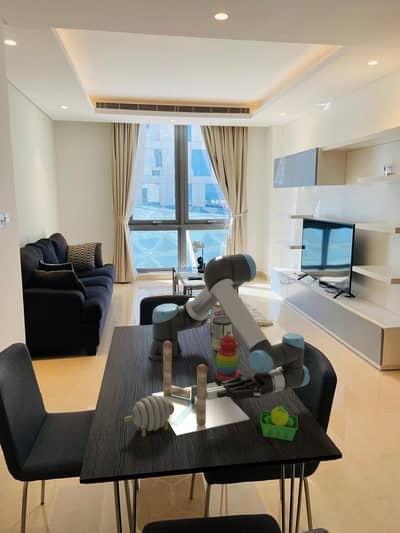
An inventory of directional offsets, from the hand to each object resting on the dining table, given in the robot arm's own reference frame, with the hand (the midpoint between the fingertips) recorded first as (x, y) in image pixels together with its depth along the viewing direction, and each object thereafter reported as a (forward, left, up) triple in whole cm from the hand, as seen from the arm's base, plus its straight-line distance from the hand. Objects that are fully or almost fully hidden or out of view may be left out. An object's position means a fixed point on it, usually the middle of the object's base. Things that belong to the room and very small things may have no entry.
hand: (206, 394), depth 133 cm
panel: (-5, 0, -9) cm, 11 cm away
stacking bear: (-28, +22, -11) cm, 37 cm away
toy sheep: (-4, -18, -11) cm, 21 cm away
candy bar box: (-76, +42, -11) cm, 88 cm away
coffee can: (-58, +34, -11) cm, 68 cm away
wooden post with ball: (-19, -2, -10) cm, 22 cm away
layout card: (-11, +2, -10) cm, 16 cm away
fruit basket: (+14, +19, -11) cm, 26 cm away
